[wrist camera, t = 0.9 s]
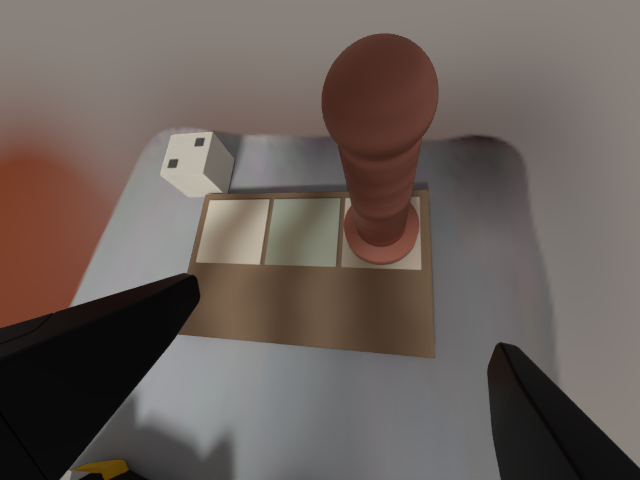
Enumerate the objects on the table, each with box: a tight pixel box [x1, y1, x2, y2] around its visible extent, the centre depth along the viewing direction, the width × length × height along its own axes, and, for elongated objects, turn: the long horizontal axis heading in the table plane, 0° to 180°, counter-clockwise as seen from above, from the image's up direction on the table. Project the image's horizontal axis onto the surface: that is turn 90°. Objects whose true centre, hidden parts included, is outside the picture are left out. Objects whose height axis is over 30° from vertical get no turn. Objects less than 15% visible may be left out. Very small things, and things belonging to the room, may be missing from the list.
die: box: [160, 132, 235, 197], centre depth 27 cm, size 4×4×4 cm
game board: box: [178, 190, 435, 358], centre depth 23 cm, size 19×12×1 cm, turn 86°
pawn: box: [322, 34, 438, 265], centre depth 15 cm, size 5×5×15 cm
